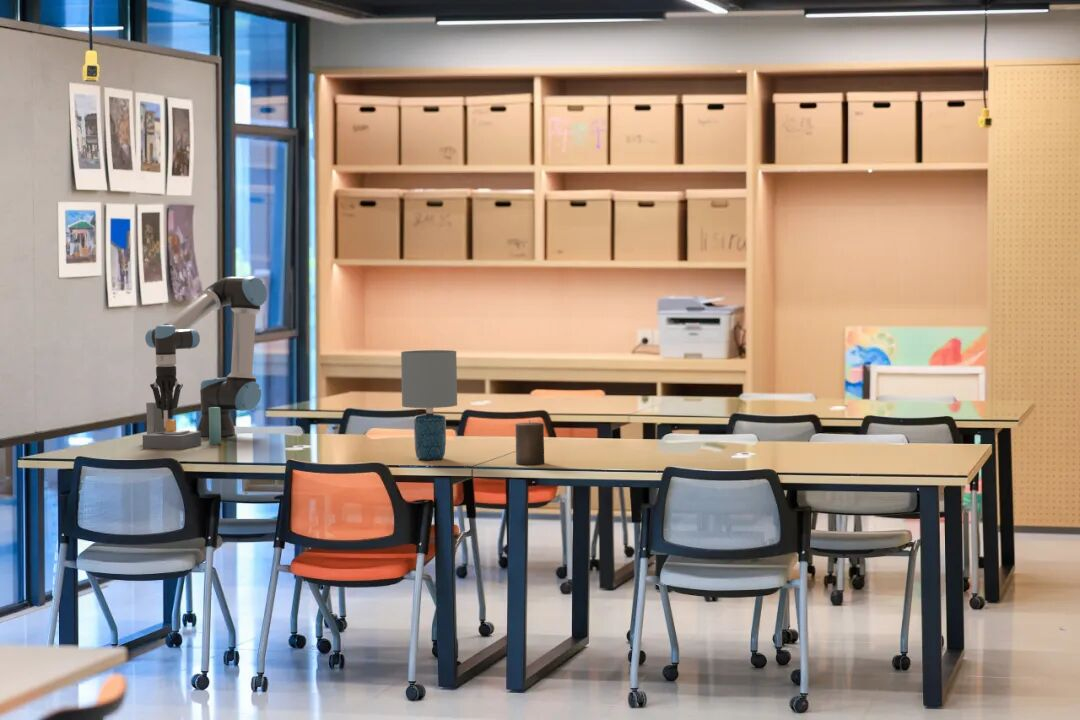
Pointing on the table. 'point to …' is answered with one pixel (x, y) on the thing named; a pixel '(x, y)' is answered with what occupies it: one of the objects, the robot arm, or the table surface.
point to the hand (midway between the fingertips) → (167, 427)
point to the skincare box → (154, 418)
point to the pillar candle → (529, 443)
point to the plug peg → (214, 425)
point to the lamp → (429, 396)
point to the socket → (171, 440)
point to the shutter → (173, 428)
